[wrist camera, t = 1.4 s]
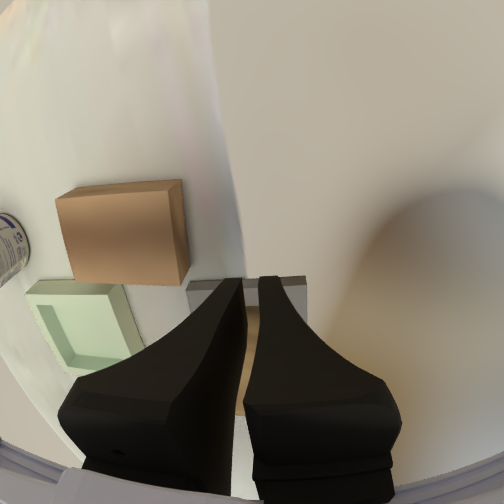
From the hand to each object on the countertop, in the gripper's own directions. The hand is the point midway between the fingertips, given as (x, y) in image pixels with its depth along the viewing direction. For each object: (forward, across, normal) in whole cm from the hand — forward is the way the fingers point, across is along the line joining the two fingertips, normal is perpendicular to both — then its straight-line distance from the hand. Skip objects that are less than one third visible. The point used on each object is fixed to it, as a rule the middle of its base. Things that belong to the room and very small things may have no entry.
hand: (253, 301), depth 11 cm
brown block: (+10, +9, 0) cm, 13 cm away
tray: (+9, +16, +8) cm, 20 cm away
